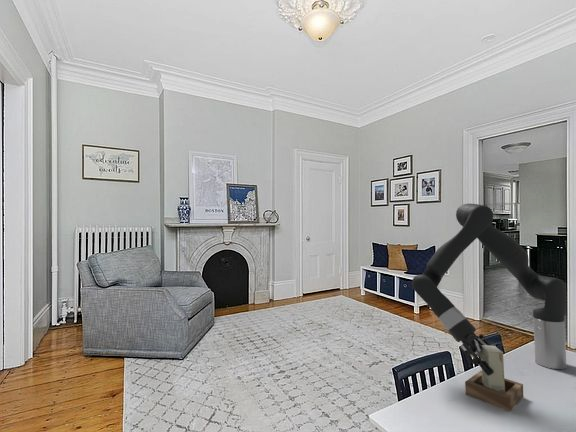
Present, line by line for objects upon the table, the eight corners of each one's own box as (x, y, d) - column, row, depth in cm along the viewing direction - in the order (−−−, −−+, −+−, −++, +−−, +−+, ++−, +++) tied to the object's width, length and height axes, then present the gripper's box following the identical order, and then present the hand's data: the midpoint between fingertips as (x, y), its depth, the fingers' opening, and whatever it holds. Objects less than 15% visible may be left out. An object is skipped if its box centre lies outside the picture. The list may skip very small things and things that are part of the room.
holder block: (481, 382, 107) (480, 370, 107) (523, 397, 97) (522, 384, 97) (465, 394, 99) (465, 381, 100) (509, 411, 90) (509, 397, 90)
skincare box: (505, 393, 95) (504, 353, 95) (489, 392, 96) (488, 352, 96) (496, 383, 101) (494, 345, 102) (481, 382, 102) (480, 344, 102)
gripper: (454, 322, 101) (497, 371, 91) (473, 314, 110) (514, 358, 100) (438, 334, 105) (477, 383, 96) (458, 325, 114) (495, 369, 104)
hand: (496, 370), depth 98 cm, fingers closed on skincare box, 7 cm apart
